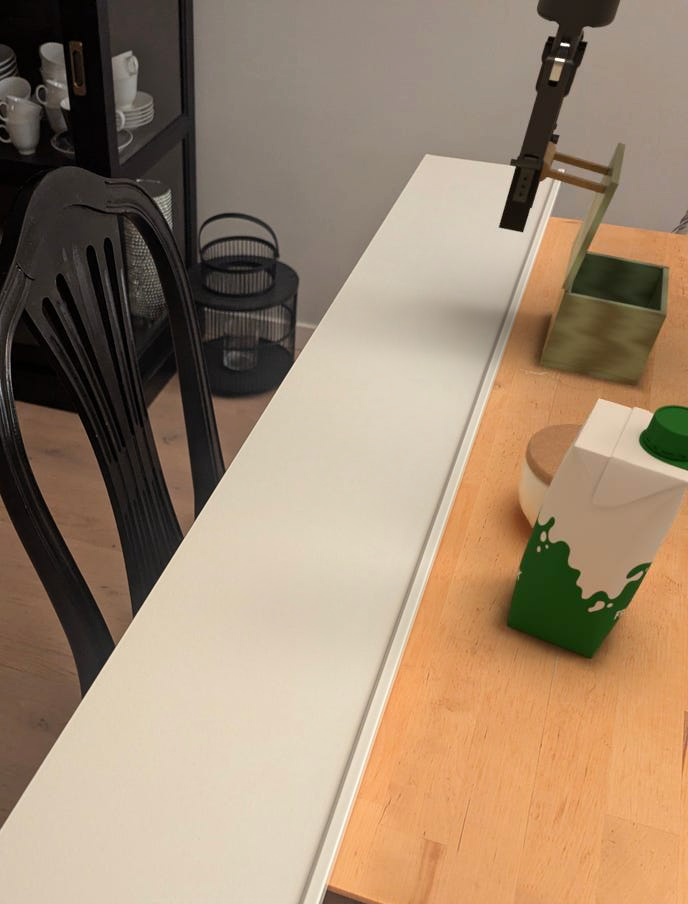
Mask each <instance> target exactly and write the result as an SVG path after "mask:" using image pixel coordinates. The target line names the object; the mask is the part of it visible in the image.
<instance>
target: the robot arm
mask: <svg viewBox="0 0 688 904" xmlns="http://www.w3.org/2000/svg"><path fill="white" fill-rule="evenodd" d="M620 3H621V0H538V2H537V5H536V12H537V14H538V16H539V17H540V18H542V19H544V20H545V21H548V22H555V23H556V24H557V25H558V27H557V30H556V33H555V36H554V35H553V36H552V35H548V36H547V40H546V41H545V44H544V46H543V50H542V53H541V57H540V58H541V59H540V60H541V61H540V62H541V66H540V69H539V72H538V76H537V79H536V83H535V87H534V90H535V92H536V95H535V100H534V103H533V107H532V110H531V114H530V117H529V120H528V124H527V127H526V131H525V134H524V138H523V141H522V145H521V148H520V151H519V155H518V156H517V157H516V158H511V159H510V163H509V166H510V167H515V168H514V172H513V175H512V179H511V182H510V186H509V189H508V192H507V197H506V200H505V203H504V206H503V207H504V208H503V211H502V214H501V218H500V221H499V225H498V228H499V229H504V230H508V231H514V232H519V233H524V231H525V228H526V225H527V221H528V218H529V215H530V212H531V209H532V208H533V205H534V202H535V199H536V196H537V192H538V189H539V186H540V183H541V182H539V178H540V175H541V172H542V168H543V165H544V157H545V153H546V150H547V147H548V144H549V141H551V142H552V143H554V145H555V146H556V145H558V142H559V139H560V137H561V135H560V134H556V133H554V131H556V130H557V128H558V119H559V116H560V112H561V109H562V106H563V102H564V100H565V98H566V97H568V96H569V95H570V92H571V90H572V89H571V88H572V86H573V84H574V80H575V77H576V74H577V71H578V69H579V68H580V67H581V65H582V62H583V59H584V57H585V54H586V53H585V52H586V50H587V47H588V42H589V41H585V40H584V37H585V31H584V28H586V27H587V28H593V29H595V28H596V29H597V28H604V27H607V26H609V25H611V24H612V23H614V21H615V18H616V16H617V12H618V9H619V6H620ZM536 155H537V156H536Z"/></svg>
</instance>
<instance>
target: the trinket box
mask: <svg viewBox="0 0 688 904" xmlns="http://www.w3.org/2000/svg"><path fill="white" fill-rule="evenodd" d="M582 426H583V424H578V423H577V424H576V423H561V424H553V425H549V426H546V427H544V428H542V429H540V430H538V431H537V432H536V433H534V434H533V435H532V436H531V437H530V439H529V440H528V443H527V445H526V449H525V456H524V459H523V462H522V465H521V468H520V473H519V479H518V486H517V488H518V489H517V491H518V493H517V494H518V500H519V504H520V507H521V510H522V512H523V514H524V516H525V517H526V519H527V521H528V523H529V526H530V527H531V529H532V530H533V527H534V525H535V522H536V520H537V517H538V515H539V512H540V509H541V507H542V504H543V502H544V499H545V497H546V494H547V492H548V489H549V487H550V484H551V482H552V479H553V478H554V476H555V474H556V472H557V470H558V468H559V466H560V464H561V462H562V460H563V458H564V457H565V455H566V453H567V451H568V449H569V448H570V446H571V444H572V443H573V441H574V439H575V438H576V436H577V434H578V433H579V431H580V429H581V428H582Z"/></svg>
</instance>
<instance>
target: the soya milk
mask: <svg viewBox="0 0 688 904" xmlns="http://www.w3.org/2000/svg"><path fill="white" fill-rule="evenodd" d="M592 407H593V408H592V409H591V411H590V412H589V414H588V416H587V418H585V421H584V423H583V424H582V425H583V426H582V428H581V429H580V431H579V433H578V434H577V436H576V438H575V439H574V441H573V443H572V444H571V446H570V448H569V449H568V451H567V453H566V455H565V457H564V458H563V460H562V462H561V464H560V466H559V468H558V470H557V472H556V474H555V476H554V478H553V479H552V482H551V484H550V487H549V489H548V492H547V494H546V497H545V499H544V502H543V504H542V507H541V509H540V512H539V515H538V517H537V520H536V522H535V525H534V527H533V529H532V530H531V533H530V535H529V538H528V540H527V542H526V546H525V548H524V551H523V553H522V557H521V559H520V562H519V565H518V569H517V574H516V579H515V582H514V583H515V584H514V589H513V593H512V598H511V601H510V602H511V604H510V607H509V612H508V617H507V622H506V626H507V627H510V628H512V629H515V630H516V631H517V630H518V631H520V632H523V633H525V634H528V635H530V636H532V637H535V638H537V639H540V640H542V641H545V642H548V643H550V644H553V645H555V646H557V647H561V648H563V649H566V650H568V651H570V652H572V653H576V654H578V655H580V656H583V657H586V658H588V659H592V658H593V656H594V655H595V654H596V652H597V651H598V649H599V648H600V647H601V645H602V644H603V642H604V641H605V640H606V638H607V637H608V636H609V634H610V633H611V632H612V630H613V629H614V627H615V626H616V624H617V623H618V622H619V620H620V619H621V617H622V616H623V614H624V613H625V612H626V610H627V609H628V607H629V605H630V604H631V602H632V600H633V599H634V597H635V595H636V593H637V592H638V590H639V588H640V586H641V585H642V582H643V581H644V579H645V578H646V577H645V576H646V575H647V573H648V571H649V569H650V567H651V565H652V564H653V562H654V560H655V559H656V556H657V555H658V552H659V551H660V549H661V547H662V545H663V543H664V541H665V540H666V537H667V536H668V534H669V532H670V530H671V528H672V526H673V524H674V522H675V519H676V518H677V516H678V513H679V511H680V510H681V509H680V508H681V506H682V503H683V501H684V499H685V496H686V494H687V491H688V407H687V406H684V405H675V404H674V405H673V404H669V405H664V406H660V407H658V408H657V409H656V410H655V411H654V412H651V411H650V410H648V409H644V408H641V407H637V406H633V408H632V407H629V406H626V405H624V404H623V405H622V404H619V403H616V402H614V401H613V402H612V401H610V400H606V399H603V398H598V399H597V400H596V403H595V404H594V405H593V406H592Z"/></svg>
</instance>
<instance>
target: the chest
mask: <svg viewBox="0 0 688 904" xmlns="http://www.w3.org/2000/svg"><path fill="white" fill-rule="evenodd" d="M669 281H670V267H669V266H666V265H662V264H656V263H651V262H647V261H640V260H635V259H632V258H631V259H630V258H625V257H621V256H616V255H609V254H605V253H601V252H594V251H589V250H588V251H587V253H586V255H585V257H584V259H583V261H582V264H581V266H580V268H579V270H578V272H577V274H576V276H575V278H574V281H573V283H572V285H571V287H570V289H569V290H566V289H563V288H562V286H563V283H562V285H561V288H560V290H559V294H558V297H557V299H556V303H555V305H554V307H553V312H552V314H551V318H550V321H549V325H548V329H547V333H546V337H545V341H544V346H543V349H542V353H541V358H540V361H539V365H541V366H543V367H548V368H553V369H557V370H562V371H567V372H570V373H574V374H579V375H584V376H589V377H593V378H598V379H603V380H606V381H611V382H615V383H619V384H620V383H621V384H624V385H629V386H633V387H637V385H638V383H639V380H640V378H641V376H642V373H643V371H644V369H645V367H646V364H647V362H648V360H649V358H650V355H651V353H652V350H653V348H654V346H655V343H656V342H657V339H658V336H659V335H660V332H661V330H662V329H663V325H664V323H665V321H666V318H667V316H668V299H669V285H670V282H669Z"/></svg>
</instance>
